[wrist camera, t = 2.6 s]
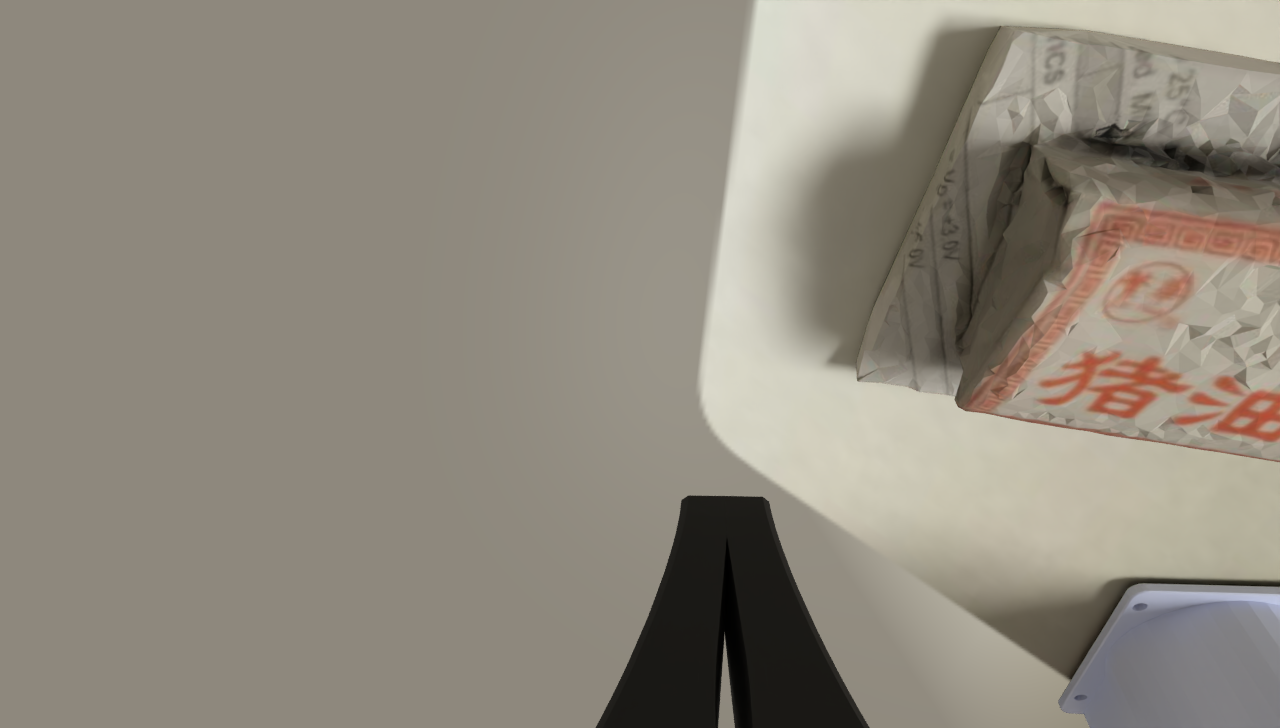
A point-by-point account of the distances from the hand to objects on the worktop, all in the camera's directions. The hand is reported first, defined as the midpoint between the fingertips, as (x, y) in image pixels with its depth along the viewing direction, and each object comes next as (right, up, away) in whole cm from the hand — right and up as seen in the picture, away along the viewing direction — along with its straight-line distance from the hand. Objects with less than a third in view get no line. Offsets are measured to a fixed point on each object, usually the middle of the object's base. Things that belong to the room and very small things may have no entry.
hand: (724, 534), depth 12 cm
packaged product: (+15, +6, +7) cm, 17 cm away
